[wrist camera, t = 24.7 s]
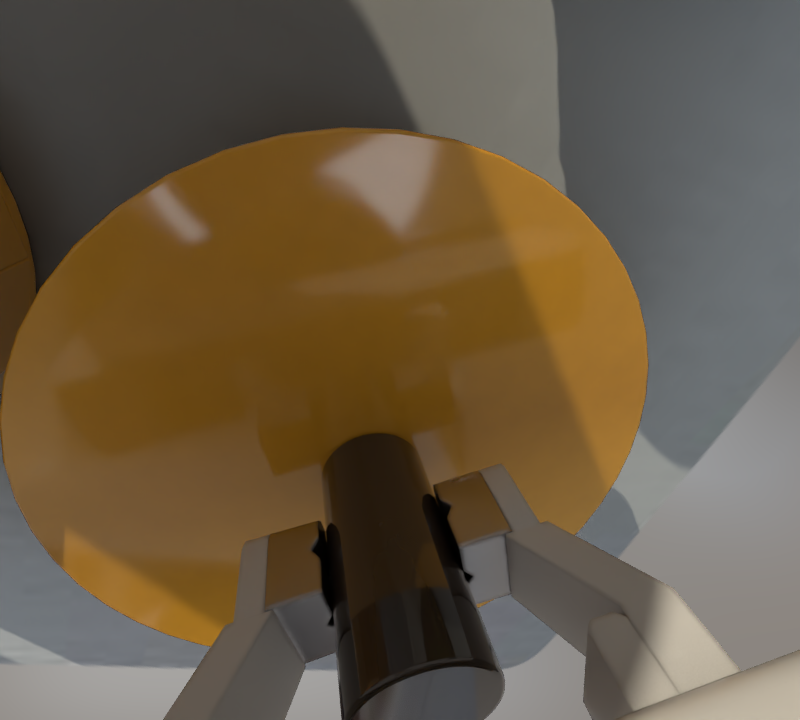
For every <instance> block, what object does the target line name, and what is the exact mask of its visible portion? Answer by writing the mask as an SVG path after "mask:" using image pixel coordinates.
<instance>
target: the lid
mask: <svg viewBox="0 0 800 720" xmlns="http://www.w3.org/2000/svg"><path fill="white" fill-rule="evenodd" d="M647 377H648V350H647V336H646V329H645V325H644V321H643V316H642V312H641V308H640V304H639V300H638V297H637V295H636V293H635V290H634V288H633V285H632V283H631V280H630V278H629V276H628V273H627V271H626V268H625V267H624V265H623V263H622V262H621V260H620V259H619V257H618V256H617V254H616V252H615V251H614V249H613V248H612V246H611V244H610V243H609V241H608V240H607V238H606V237H605V235H604V234H603V233H602V232H601V231H600V230H599V228H598V227H597V226H596V225H595V224H594V223H593V222H592V221H591V220H590V219H589V217H588V216H587V215H586V214H585V213H584V212H583V211H582V210H581V209H580V207H579V206H578V205H576V204H575V203H574V202H573V201H571V200H570V199H569V198H567V197H566V196H565V195H564V194H562V193H561V192H560V191H559V190H557V189H556V188H555V187H553V186H552V185H551V184H550V183H548V182H547V181H546V180H545V179H543V178H541V177H539V176H538V175H536V174H534V173H532V172H530V171H528V170H527V169H525V168H523V167H521V166H519V165H517V164H516V163H514V162H512V161H510V160H508V159H506V158H505V157H503V156H500V155H497V154H495V153H492V152H489V151H486V150H483V149H480V148H478V147H475V146H472V145H469V144H466V143H463V142H461V141H458V140H455V139H450V138H445V137H439V136H434V135H429V134H423V133H418V132H413V131H407V130H402V129H385V128H355V127H335V128H326V129H318V130H309V131H300V132H291V133H283V134H279V135H275V136H272V137H268V138H264V139H260V140H257V141H253V142H249V143H246V144H242V145H238V146H234V147H231V148H227V149H224V150H222V151H220V152H218V153H215V154H213V155H211V156H208V157H206V158H204V159H202V160H199V161H197V162H195V163H192V164H190V165H188V166H186V167H183V168H181V169H179V170H176V171H174V172H172V173H170V174H167V175H166V176H164V177H162V178H161V179H159V180H158V181H156V182H155V183H153V184H151V185H150V186H148V187H147V188H145V189H144V190H142V191H141V192H139V193H137V194H136V195H134V196H133V197H131V198H130V199H128V200H126V201H125V202H123V203H122V204H120V205H119V206H117V207H116V208H115V209H113V210H112V211H111V212H110V213H109V214H108V215H107V216H106V217H105V218H103V219H102V220H101V221H100V222H99V223H98V224H97V225H96V226H95V227H93V228H92V229H91V230H90V231H89V232H88V233H87V234H86V235H84V236H83V237H82V238H81V239H80V240H79V241H78V242H77V243H76V244H74V245H73V247H72V248H71V249H70V251H69V252H68V253H67V254H66V256H65V257H64V258H63V259H62V261H61V262H60V263H59V264H58V266H57V267H56V268H55V270H54V271H53V272H52V273H51V275H50V276H49V277H48V278H47V280H46V281H45V282H44V283H43V285H42V286H41V287H40V289H39V291H38V293H37V295H36V297H35V299H34V301H33V302H32V304H31V306H30V308H29V310H28V312H27V314H26V316H25V318H24V319H23V321H22V323H21V325H20V327H19V329H18V331H17V334H16V337H15V340H14V343H13V347H12V350H11V353H10V357H9V360H8V363H7V367H6V370H5V373H4V377H3V387H2V398H1V408H0V433H1V443H2V453H3V462H4V465H5V468H6V472H7V475H8V478H9V482H10V485H11V488H12V491H13V495H14V498H15V500H16V502H17V504H18V506H19V508H20V510H21V512H22V514H23V516H24V517H25V519H26V521H27V523H28V525H29V527H30V529H31V531H32V532H33V534H34V535H35V536H36V538H37V539H38V540H39V542H40V543H41V544H42V546H43V547H44V548H45V550H46V551H47V552H48V554H49V555H50V556H51V558H52V559H53V560H54V561H55V562H56V563H57V564H58V565H59V566H60V567H61V568H62V569H63V570H64V571H65V572H66V573H67V574H68V575H69V576H70V577H71V578H72V579H73V580H74V581H75V582H77V583H78V584H79V585H80V586H81V587H83V588H84V589H85V590H87V591H88V592H89V593H91V594H92V595H93V596H95V597H96V598H98V599H99V600H100V601H102V602H103V603H104V604H106V605H107V606H109V607H111V608H113V609H114V610H116V611H118V612H120V613H122V614H123V615H125V616H127V617H129V618H131V619H132V620H134V621H136V622H138V623H141V624H143V625H145V626H148V627H150V628H153V629H155V630H158V631H160V632H162V633H165V634H167V635H170V636H174V637H177V638H180V639H184V640H187V641H190V642H194V643H197V644H201V645H206V646H212V645H213V643H214V642H215V640H216V638H217V637H218V635H219V634H220V632H221V631H222V629H223V628H224V626H225V625H227V624H230V623H233V620H234V612H235V603H236V595H237V586H238V578H239V569H240V561H241V552H242V548H243V546H244V544H245V542H246V541H249V540H252V539H256V538H259V537H263V536H266V535H270V534H272V533H276V532H279V531H283V530H286V529H290V528H294V527H297V526H301V525H304V524H308V523H311V522H315V521H321V523H322V525H323V527H324V529H325V531H326V541H327V552H328V564H329V576H330V588H331V600H332V611H333V623H334V635H335V647H336V658H337V670H338V682H339V694H340V706H341V717H342V720H484V719H485V718H487V717H488V716H489V715H490V714H491V713H492V712H493V710H494V709H495V708H496V707H497V705H498V704H499V702H500V701H501V699H502V697H503V694H504V690H505V679H504V675H503V672H502V669H501V667H500V664H499V661H498V659H497V656H496V654H495V651H494V648H493V646H492V643H491V641H490V638H489V635H488V633H487V630H486V628H485V625H484V622H483V620H482V617H481V615H480V612H479V609H478V608H479V607H481V606H483V605H485V604H487V603H488V602H490V601H492V600H489V601H486V602H483V603H480V604H476V602H475V599H474V596H473V594H472V591H471V589H470V586H469V583H468V581H467V578H466V576H465V573H464V571H463V569H462V566H461V564H460V561H459V559H458V556H457V553H456V551H455V548H454V546H453V543H452V541H451V537H450V534H449V531H448V529H447V526H446V524H445V522H444V520H443V517H442V514H441V512H440V509H439V506H438V504H437V501H436V498H435V494H434V489H433V485H434V484H437V483H440V482H443V481H446V480H449V479H452V478H455V477H459V476H462V475H465V474H468V473H471V472H474V471H478V470H481V469H484V468H487V467H491V466H494V465H497V464H500V463H501V464H502V465H504V466H505V468H506V469H507V471H508V473H509V474H510V476H511V477H512V479H513V481H514V482H515V484H516V485H517V487H518V489H519V490H520V492H521V493H522V495H523V496H524V498H525V500H526V501H527V503H528V504H529V506H530V508H531V509H532V511H533V512H534V514H535V516H536V517H537V519H538V520H539V522H540V523H542V522H545V521H548V522H550V523H552V524H554V525H556V526H558V527H560V528H561V529H563V530H565V531H567V532H569V533H571V534H573V535H575V534H576V533H577V532H578V531H579V530H580V529H581V528H582V527H583V526H584V525H585V523H586V522H587V521H588V520H589V518H590V517H591V516H592V514H593V513H594V512H595V511H596V509H597V508H598V507H599V505H600V504H601V503H602V501H603V500H604V498H605V497H606V495H607V493H608V492H609V490H610V489H611V487H612V485H613V484H614V482H615V481H616V479H617V477H618V475H619V473H620V471H621V469H622V467H623V465H624V463H625V461H626V459H627V457H628V455H629V453H630V450H631V448H632V445H633V442H634V439H635V436H636V433H637V431H638V428H639V425H640V421H641V416H642V412H643V407H644V402H645V398H646V390H647ZM493 600H494V599H493Z"/></svg>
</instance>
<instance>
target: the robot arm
mask: <svg viewBox="0 0 800 720" xmlns="http://www.w3.org/2000/svg"><path fill="white" fill-rule="evenodd" d="M433 489H434V494H435V498H436V501H437V504H438V506H439V509H440V512H441V514H442V517H443V520H444V522H445V524H446V526H447V529H448V531H449V534H450V537H451V541H452V543H453V546H454V548H455V551H456V553H457V556H458V559H459V561H460V564H461V566H462V569H463V571H464V573H465V576H466V578H467V581H468V583H469V586H470V589H471V591H472V594H473V596H474V599H475V602H476V604H480V603H483V602H486V601H489V600H493V599H496V598H499V597H503V596H506V595H509V594H511V595H512V597H513V598H514V599H516V600H517V601H518V602H519V603H521V604H522V605H523V606H524V607H526V608H527V609H528V610H529V611H530V612H532V613H533V614H534V615H535V616H537V617H538V618H539V619H540V620H541V621H543V622H544V623H545V624H546V625H548V626H549V627H550V628H551V629H552V630H554V631H555V632H556V633H557V634H559V635H560V636H561V637H562V638H563V639H565V640H566V641H567V642H568V643H570V644H571V645H572V646H573V647H575V648H576V649H577V650H578V651H579V652H581V653H582V654H583V655H584V656H586V665H585V681H584V697H583V702H584V704H585V706H586V708H587V710H588V712H589V714H590V716H591V718H592V720H800V650H797V651H795V652H792V653H790V654H787V655H784V656H782V657H779V658H776V659H774V660H771V661H768V662H765V663H763V664H760V665H758V666H755V667H752V668H750V669H747V670H744V671H741V670H740V669H739V667H738V666H737V665H736V664H735V663H734V661H733V660H732V659H731V658H730V657H729V655H728V654H727V653H726V652H725V650H724V649H723V648H722V647H721V646H720V644H719V643H718V642H717V641H716V639H715V638H714V637H713V636H712V635H711V633H710V632H709V631H708V630H707V628H706V627H705V626H704V625H703V624H702V622H701V621H700V620H699V619H698V617H697V616H696V615H695V614H694V613H693V611H692V610H691V609H690V608H689V606H688V605H687V604H686V603H685V602H684V600H683V599H682V598H681V597H680V595H679V594H678V593H677V592H676V591H675V589H674V588H672V587H670V586H668V585H666V584H664V583H663V582H661V581H659V580H657V579H655V578H653V577H651V576H650V575H648V574H646V573H644V572H642V571H640V570H638V569H636V568H635V567H633V566H631V565H629V564H627V563H625V562H623V561H621V560H620V559H618V558H616V557H614V556H612V555H610V554H608V553H606V552H605V551H603V550H601V549H599V548H597V547H595V546H593V545H591V544H590V543H588V542H586V541H584V540H582V539H580V538H578V537H576V536H575V535H573V534H571V533H569V532H567V531H565V530H563V529H561V528H560V527H558V526H556V525H554V524H552V523H550V522H548V521H545V522H542V523H540V522H539V520H538V519H537V517H536V516H535V514H534V512H533V511H532V509H531V508H530V506H529V504H528V503H527V501H526V500H525V498H524V496H523V495H522V493H521V492H520V490H519V489H518V487H517V485H516V484H515V482H514V481H513V479H512V477H511V476H510V474H509V473H508V471H507V469H506V468H505V466H504V465H502V464H501V463H500V464H497V465H494V466H491V467H487V468H484V469H481V470H478V471H474V472H471V473H468V474H465V475H462V476H459V477H455V478H452V479H449V480H446V481H443V482H440V483H437V484H434V485H433ZM335 652H336V647H335V635H334V623H333V611H332V600H331V588H330V576H329V564H328V552H327V541H326V531H325V529H324V527H323V525H322V523H321V521H315V522H311V523H308V524H304V525H301V526H297V527H294V528H290V529H286V530H283V531H279V532H276V533H272V534H270V535H266V536H263V537H259V538H256V539H252V540H249V541H246V542H245V544H244V546H243V548H242V552H241V561H240V569H239V578H238V586H237V595H236V603H235V612H234V620H233V623H230V624H227V625H225V626H224V628H223V629H222V631H221V632H220V634H219V635H218V637H217V638H216V640H215V642H214V643H213V645H212V646H211V648H210V649H209V651H208V652H207V654H206V655H205V657H204V658H203V660H202V661H201V663H200V664H199V666H198V667H197V669H196V670H195V672H194V673H193V675H192V677H191V678H190V680H189V681H188V683H187V684H186V686H185V687H184V689H183V690H182V692H181V693H180V695H179V696H178V698H177V699H176V701H175V702H174V704H173V705H172V707H171V708H170V710H169V712H168V713H167V715H166V716H165V718H164V719H163V720H285V717H286V715H287V712H288V710H289V707H290V705H291V702H292V699H293V697H294V695H295V692H296V690H297V687H298V684H299V682H300V679H301V677H302V674H303V672H304V669H305V665H304V664H305V663H308V662H310V661H313V660H316V659H319V658H321V657H324V656H327V655H329V654H332V653H335Z"/></svg>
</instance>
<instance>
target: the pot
mask: <svg viewBox="0 0 800 720" xmlns="http://www.w3.org/2000/svg"><path fill="white" fill-rule="evenodd" d="M35 297H36V280H35V268H34V263H33V258H32V253H31V248H30V244H29V239H28V235H27V232H26V229H25V227H24V224H23V221H22V218H21V215H20V213H19V210H18V207H17V204H16V201H15V199H14V197H13V195H12V193H11V191H10V189H9V187H8V185H7V183H6V181H5V179H4V177H3V175H2V173H1V171H0V393H1V392H2V387H3V377H4V373H5V370H6V367H7V363H8V360H9V357H10V353H11V350H12V347H13V343H14V340H15V337H16V334H17V331H18V329H19V327H20V325H21V323H22V321H23V319H24V318H25V316H26V314H27V312H28V310H29V308H30V306H31V304H32V302H33V301H34V299H35Z"/></svg>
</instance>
